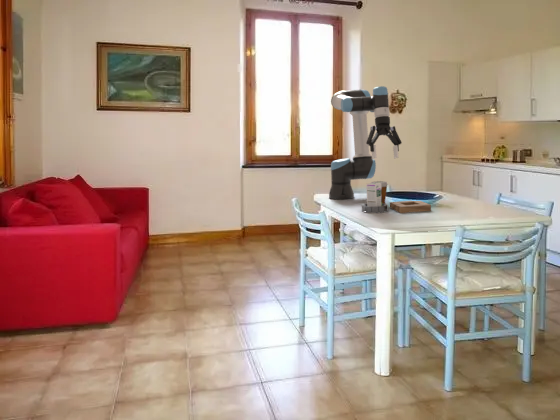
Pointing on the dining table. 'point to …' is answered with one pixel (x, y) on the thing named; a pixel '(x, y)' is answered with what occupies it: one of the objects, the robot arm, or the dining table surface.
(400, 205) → the square socket
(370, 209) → the metal ring
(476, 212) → the dining table surface
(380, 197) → the syrup box
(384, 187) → the disposable coffee cup
